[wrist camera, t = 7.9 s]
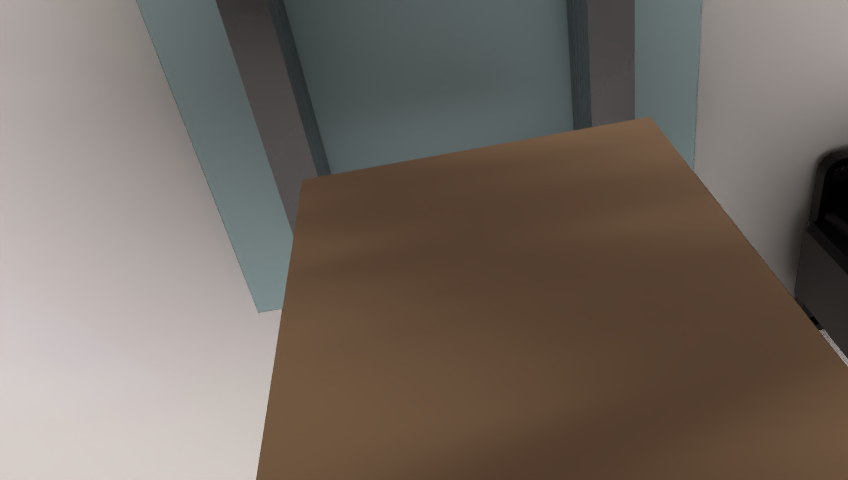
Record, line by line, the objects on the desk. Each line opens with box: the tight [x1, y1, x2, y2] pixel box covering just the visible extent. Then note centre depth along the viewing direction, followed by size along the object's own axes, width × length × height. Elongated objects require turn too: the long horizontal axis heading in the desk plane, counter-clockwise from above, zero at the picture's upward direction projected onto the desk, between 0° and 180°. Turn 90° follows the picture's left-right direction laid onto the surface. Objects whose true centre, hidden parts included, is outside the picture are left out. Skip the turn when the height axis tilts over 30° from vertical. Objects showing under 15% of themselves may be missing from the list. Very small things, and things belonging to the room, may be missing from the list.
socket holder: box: [136, 0, 702, 313], centre depth 17 cm, size 13×13×3 cm
